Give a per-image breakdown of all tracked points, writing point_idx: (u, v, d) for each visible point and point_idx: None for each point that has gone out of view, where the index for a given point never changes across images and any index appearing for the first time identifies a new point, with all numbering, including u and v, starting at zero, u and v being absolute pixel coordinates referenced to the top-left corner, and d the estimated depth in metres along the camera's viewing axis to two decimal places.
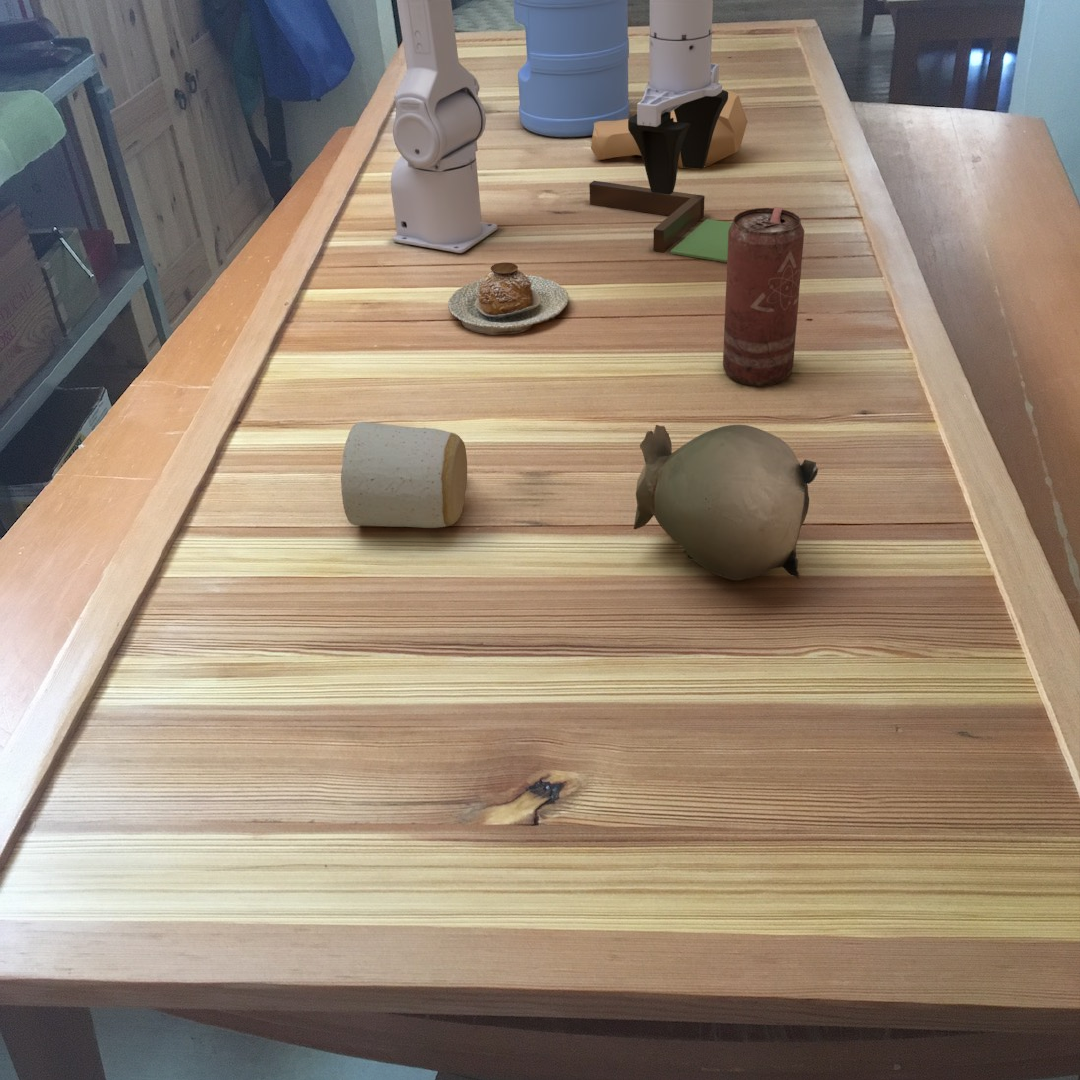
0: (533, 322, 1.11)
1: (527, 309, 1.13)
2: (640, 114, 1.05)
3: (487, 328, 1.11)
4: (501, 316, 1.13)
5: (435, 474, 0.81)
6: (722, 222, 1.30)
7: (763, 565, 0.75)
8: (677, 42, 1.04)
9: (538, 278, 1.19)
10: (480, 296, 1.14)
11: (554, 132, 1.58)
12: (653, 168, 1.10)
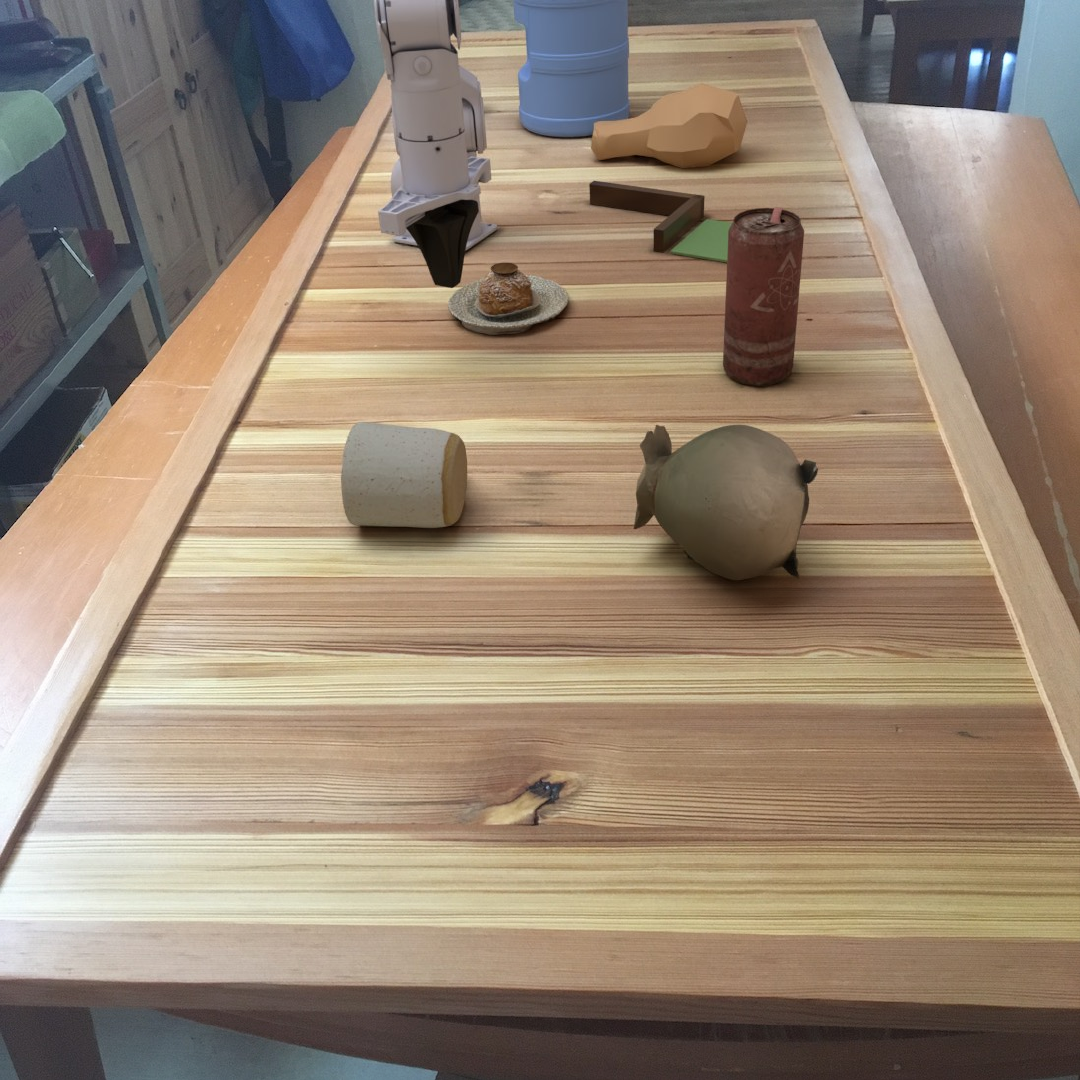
0: (533, 322, 1.11)
1: (527, 309, 1.13)
2: (382, 222, 0.95)
3: (487, 328, 1.11)
4: (501, 316, 1.13)
5: (435, 474, 0.81)
6: (722, 222, 1.30)
7: (763, 565, 0.75)
8: (421, 143, 0.95)
9: (538, 278, 1.19)
10: (480, 296, 1.14)
11: (554, 132, 1.58)
12: (433, 260, 1.03)
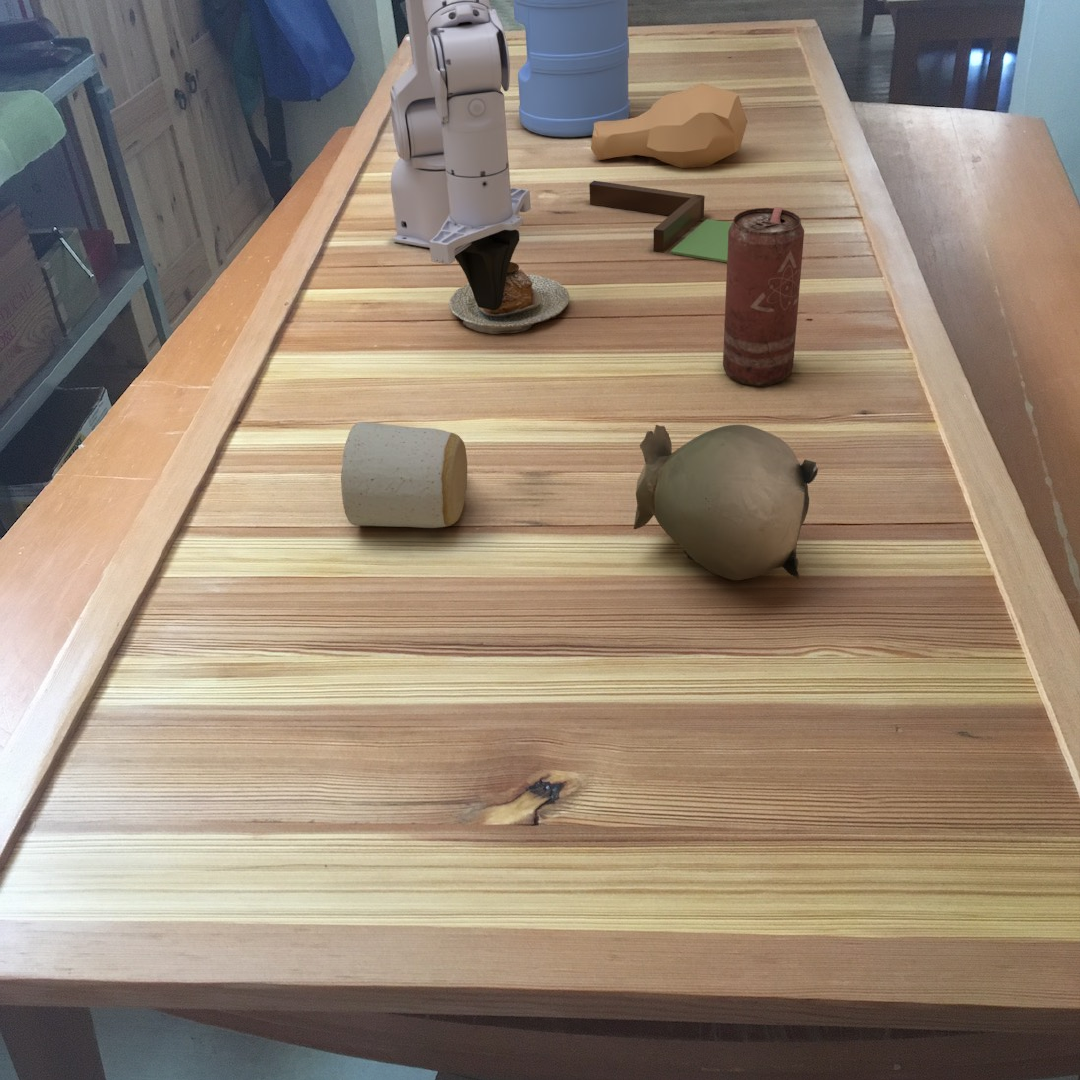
0: (534, 321, 1.11)
1: (528, 308, 1.13)
2: (433, 251, 1.03)
3: (488, 327, 1.11)
4: (502, 315, 1.13)
5: (435, 474, 0.81)
6: (722, 222, 1.30)
7: (763, 565, 0.75)
8: (469, 179, 1.02)
9: (539, 277, 1.19)
10: None
11: (554, 132, 1.58)
12: (477, 285, 1.11)
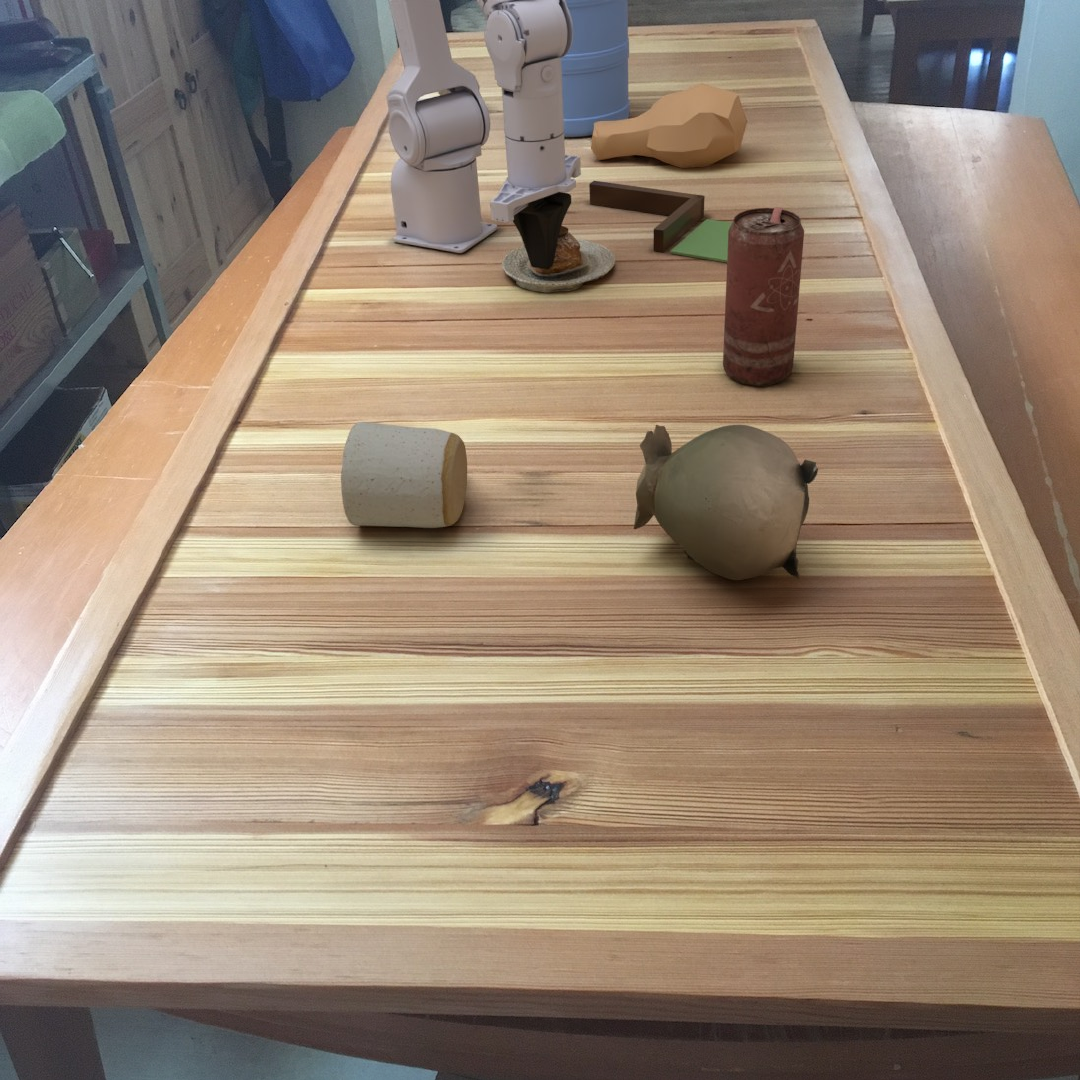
0: (585, 280, 1.18)
1: (577, 269, 1.20)
2: (493, 211, 1.10)
3: (541, 286, 1.18)
4: (553, 275, 1.20)
5: (435, 474, 0.81)
6: (722, 222, 1.30)
7: (763, 565, 0.75)
8: (528, 143, 1.09)
9: (584, 241, 1.26)
10: None
11: None
12: (531, 245, 1.18)
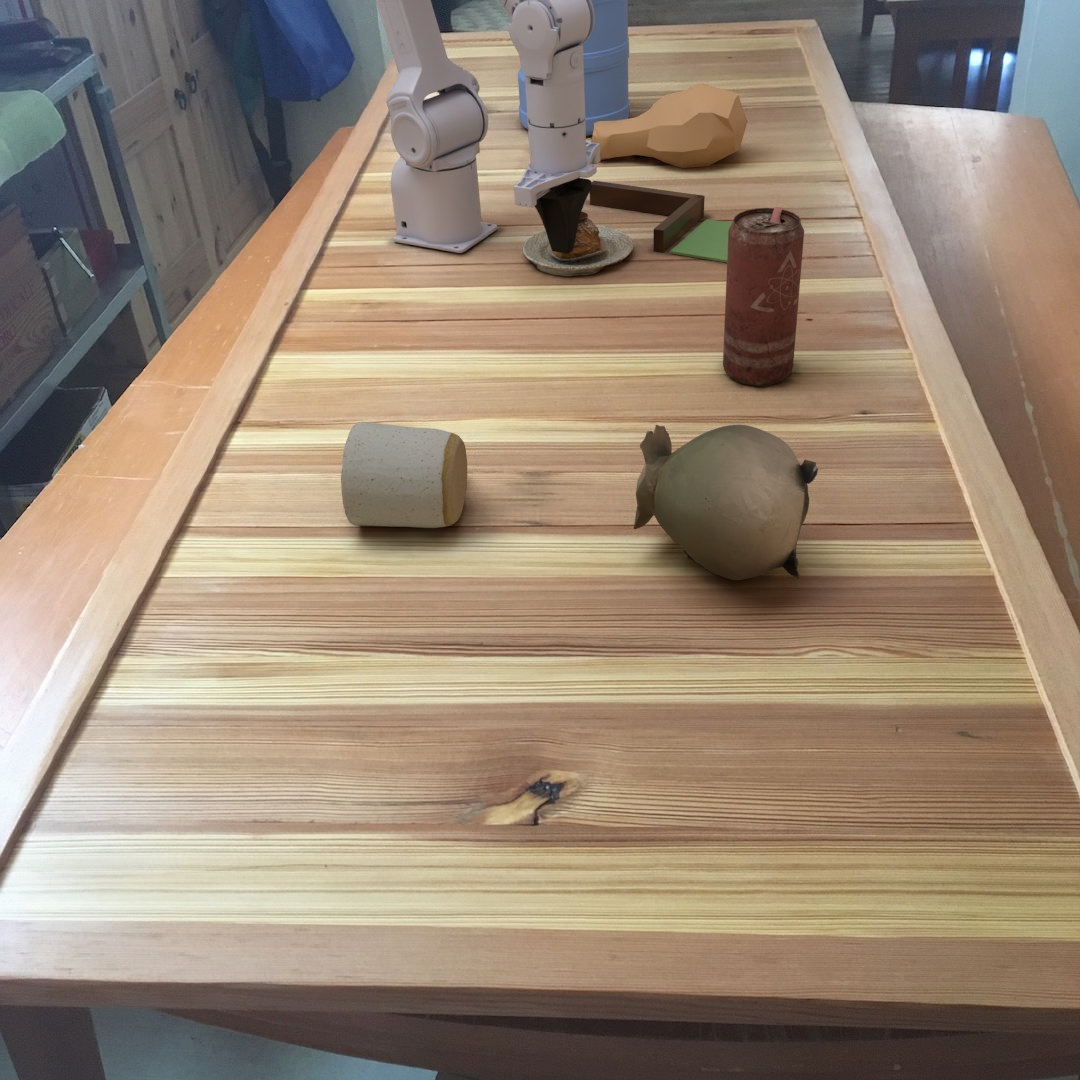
0: (604, 264, 1.21)
1: (597, 253, 1.23)
2: (517, 196, 1.13)
3: (562, 270, 1.21)
4: (573, 260, 1.23)
5: (435, 474, 0.81)
6: (722, 222, 1.30)
7: (763, 565, 0.75)
8: (550, 129, 1.12)
9: (602, 227, 1.29)
10: None
11: None
12: (552, 230, 1.21)
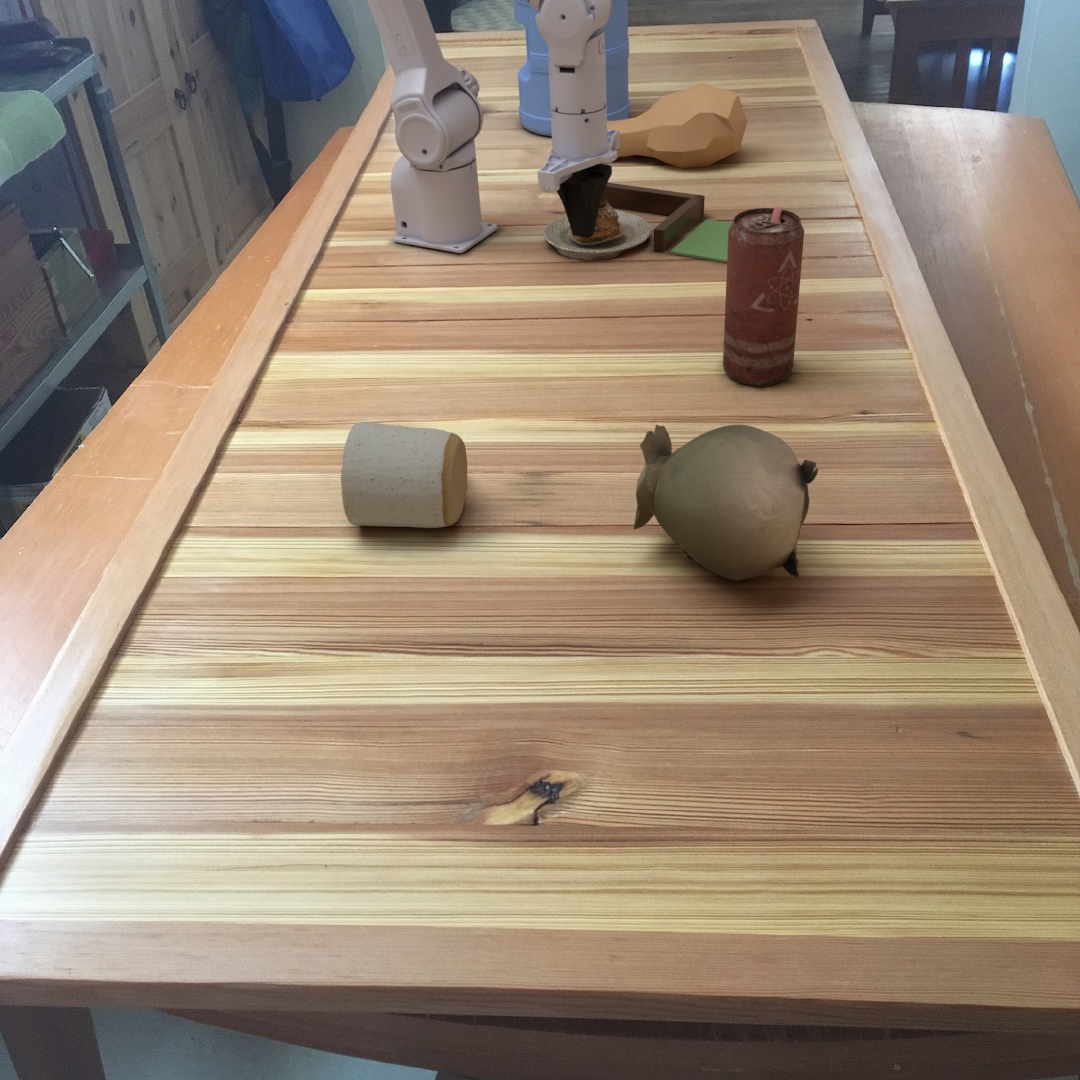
0: (624, 247, 1.24)
1: (616, 237, 1.27)
2: (540, 180, 1.16)
3: (583, 254, 1.25)
4: (593, 244, 1.26)
5: (435, 474, 0.81)
6: (722, 222, 1.30)
7: (763, 565, 0.75)
8: (573, 116, 1.15)
9: (620, 212, 1.32)
10: None
11: None
12: (573, 214, 1.24)
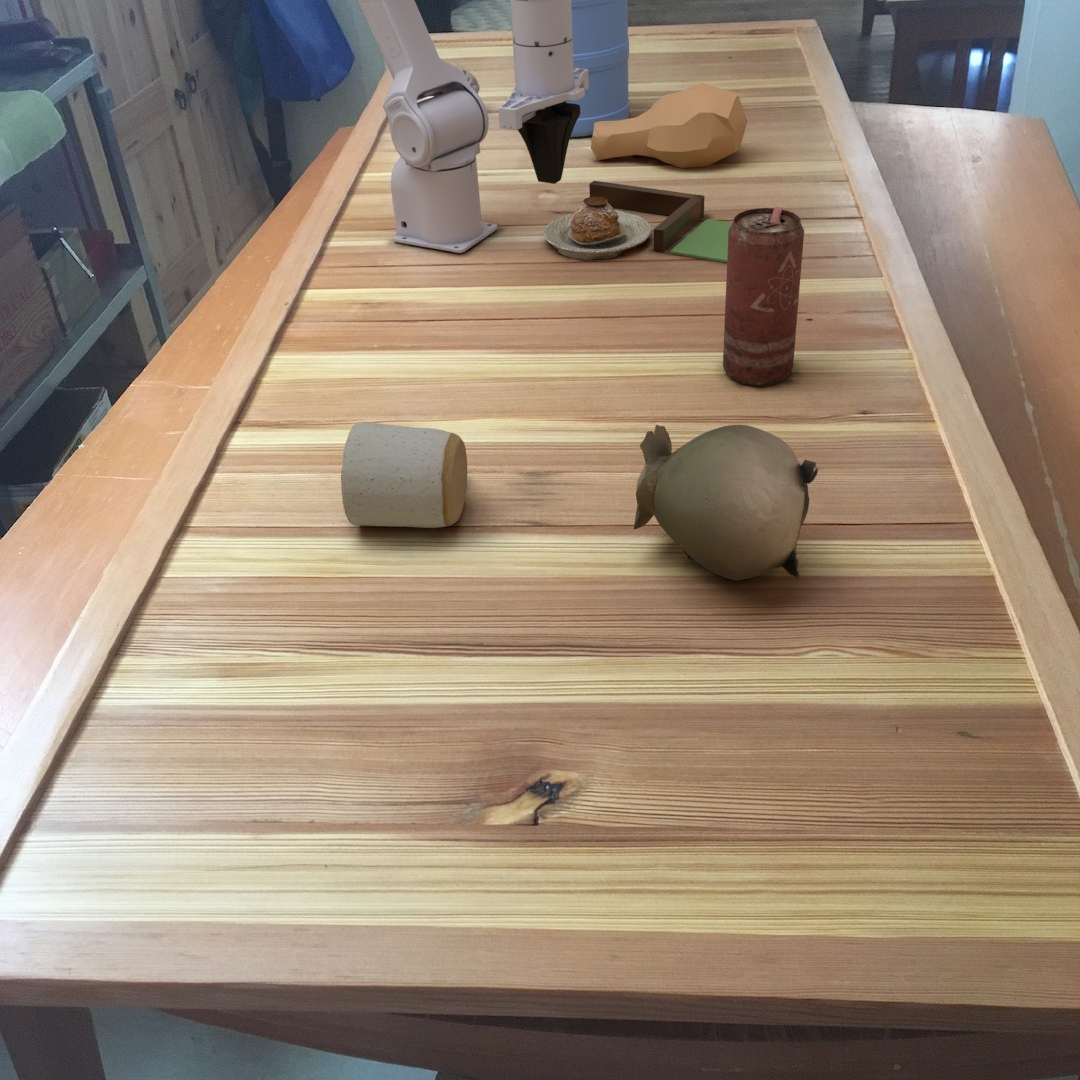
0: (624, 247, 1.24)
1: (616, 237, 1.27)
2: (501, 118, 1.08)
3: (583, 254, 1.25)
4: (593, 244, 1.26)
5: (435, 474, 0.81)
6: (722, 222, 1.30)
7: (763, 565, 0.75)
8: (536, 48, 1.08)
9: (620, 212, 1.32)
10: (574, 227, 1.27)
11: None
12: (538, 158, 1.16)
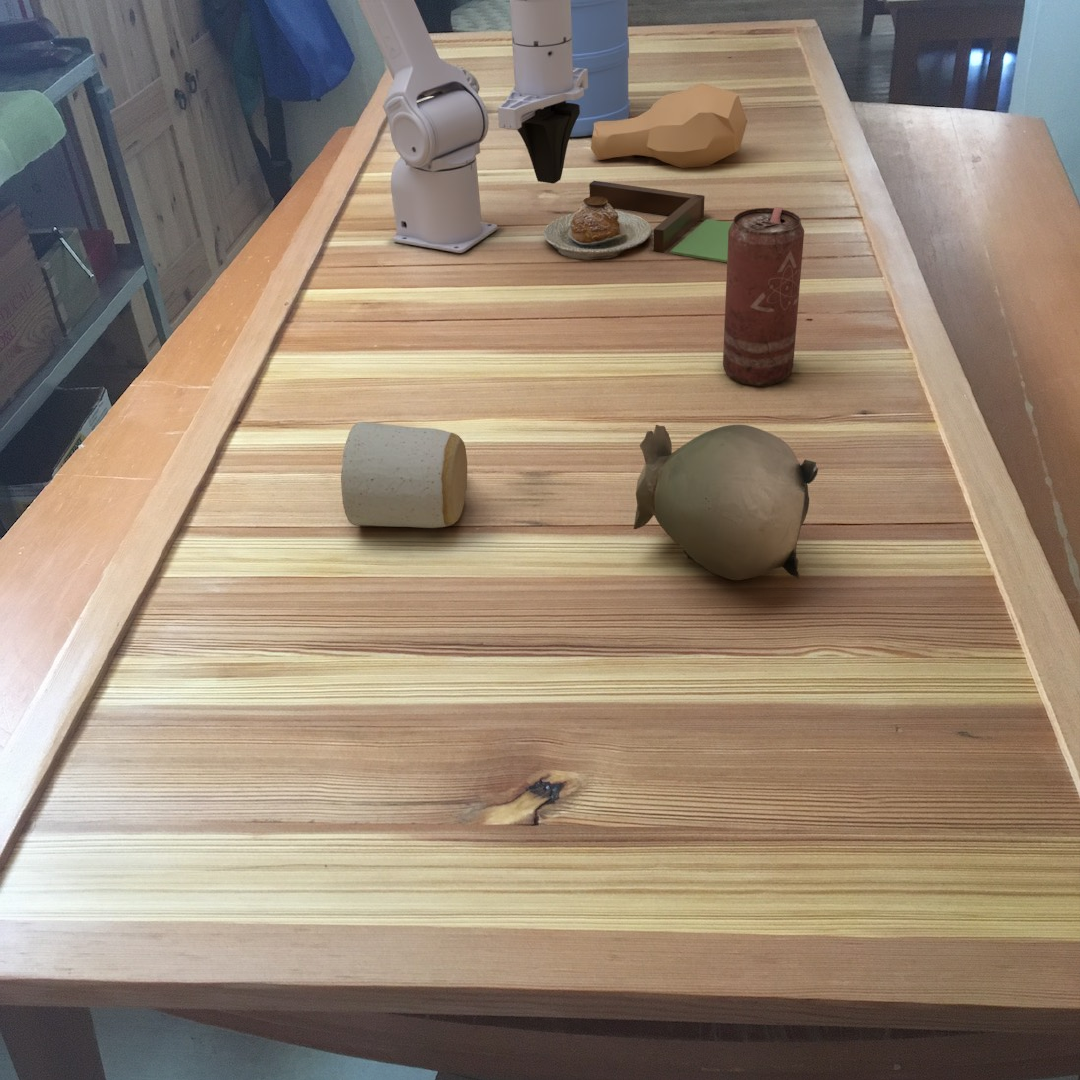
0: (624, 247, 1.24)
1: (616, 237, 1.27)
2: (501, 117, 1.08)
3: (583, 254, 1.25)
4: (593, 244, 1.26)
5: (435, 474, 0.81)
6: (722, 222, 1.30)
7: (763, 565, 0.75)
8: (535, 48, 1.08)
9: (620, 212, 1.32)
10: (574, 227, 1.27)
11: None
12: (538, 158, 1.16)
